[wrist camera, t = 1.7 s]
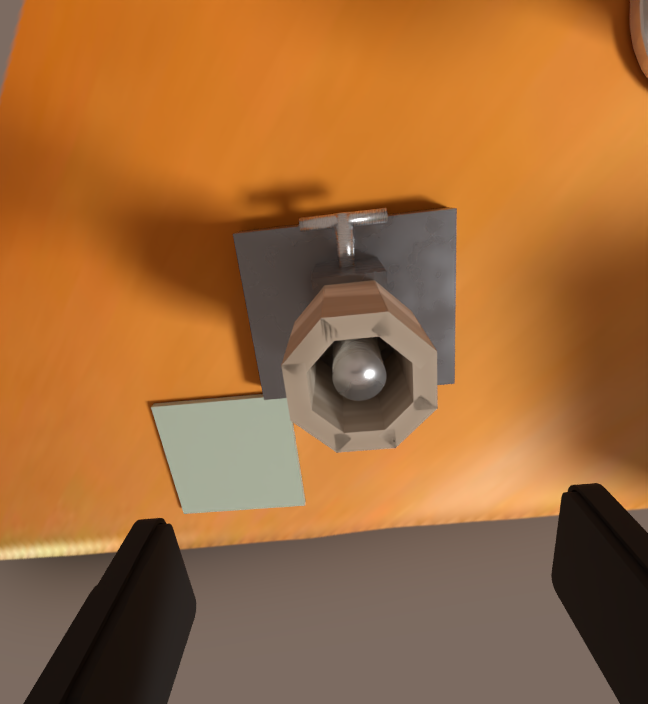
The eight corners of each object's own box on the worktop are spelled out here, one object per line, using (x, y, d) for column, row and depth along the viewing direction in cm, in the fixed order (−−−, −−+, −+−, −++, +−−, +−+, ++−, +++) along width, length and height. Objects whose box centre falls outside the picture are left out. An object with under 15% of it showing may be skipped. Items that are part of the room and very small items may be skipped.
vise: (447, 197, 26) (532, 201, 15) (447, 372, 31) (511, 474, 20) (238, 221, 27) (169, 243, 16) (268, 387, 32) (232, 494, 20)
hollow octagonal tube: (410, 276, 21) (437, 306, 15) (413, 384, 23) (437, 445, 18) (289, 288, 21) (273, 322, 16) (304, 394, 24) (295, 455, 18)
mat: (287, 391, 32) (286, 395, 31) (305, 500, 36) (304, 505, 35) (154, 403, 32) (150, 407, 32) (186, 508, 36) (183, 513, 36)
